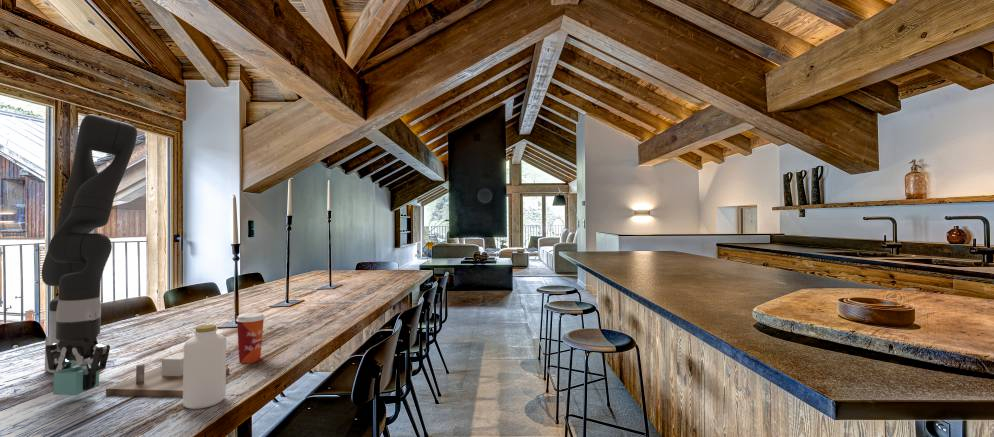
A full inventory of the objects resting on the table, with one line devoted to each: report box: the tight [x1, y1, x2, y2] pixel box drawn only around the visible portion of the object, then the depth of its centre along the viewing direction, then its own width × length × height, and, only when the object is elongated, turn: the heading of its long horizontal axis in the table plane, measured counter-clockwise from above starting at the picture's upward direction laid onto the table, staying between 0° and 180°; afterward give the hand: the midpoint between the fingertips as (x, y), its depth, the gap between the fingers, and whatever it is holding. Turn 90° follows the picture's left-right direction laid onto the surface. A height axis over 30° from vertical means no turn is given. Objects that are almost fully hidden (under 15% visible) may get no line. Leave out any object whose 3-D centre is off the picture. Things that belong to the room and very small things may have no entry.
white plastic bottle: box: [182, 324, 227, 410], centre depth 98 cm, size 8×8×18 cm
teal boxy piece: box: [52, 365, 100, 396], centre depth 99 cm, size 5×5×5 cm
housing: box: [161, 352, 184, 376], centre depth 113 cm, size 5×5×4 cm
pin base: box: [105, 363, 230, 398], centre depth 110 cm, size 20×16×6 cm
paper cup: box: [235, 312, 266, 364], centre depth 129 cm, size 8×8×14 cm
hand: (76, 387), depth 99 cm, fingers closed on teal boxy piece, 5 cm apart
